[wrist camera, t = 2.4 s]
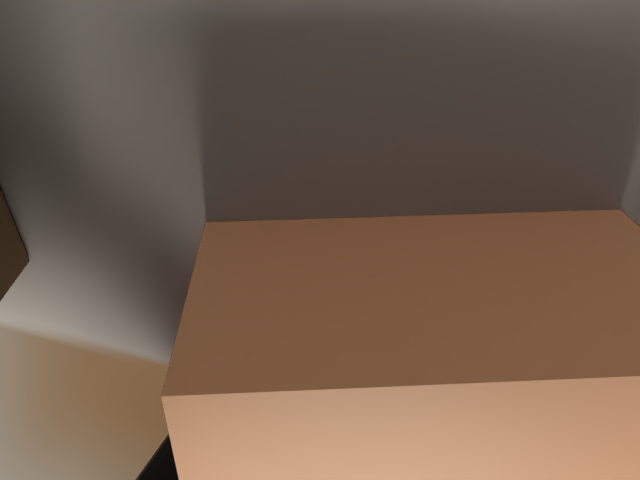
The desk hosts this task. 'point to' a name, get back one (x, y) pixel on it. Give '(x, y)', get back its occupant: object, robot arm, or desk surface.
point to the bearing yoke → (9, 249)
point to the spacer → (411, 349)
